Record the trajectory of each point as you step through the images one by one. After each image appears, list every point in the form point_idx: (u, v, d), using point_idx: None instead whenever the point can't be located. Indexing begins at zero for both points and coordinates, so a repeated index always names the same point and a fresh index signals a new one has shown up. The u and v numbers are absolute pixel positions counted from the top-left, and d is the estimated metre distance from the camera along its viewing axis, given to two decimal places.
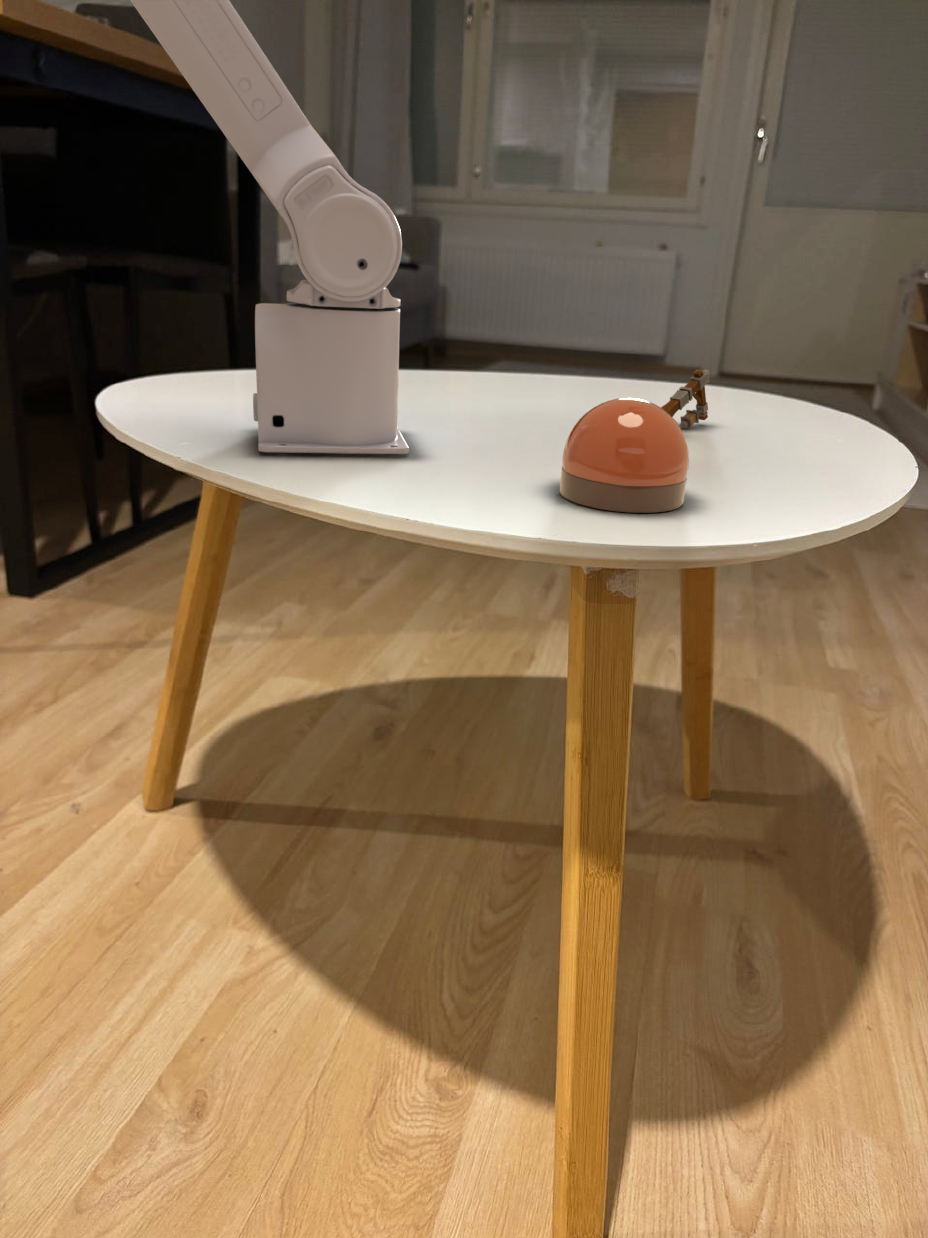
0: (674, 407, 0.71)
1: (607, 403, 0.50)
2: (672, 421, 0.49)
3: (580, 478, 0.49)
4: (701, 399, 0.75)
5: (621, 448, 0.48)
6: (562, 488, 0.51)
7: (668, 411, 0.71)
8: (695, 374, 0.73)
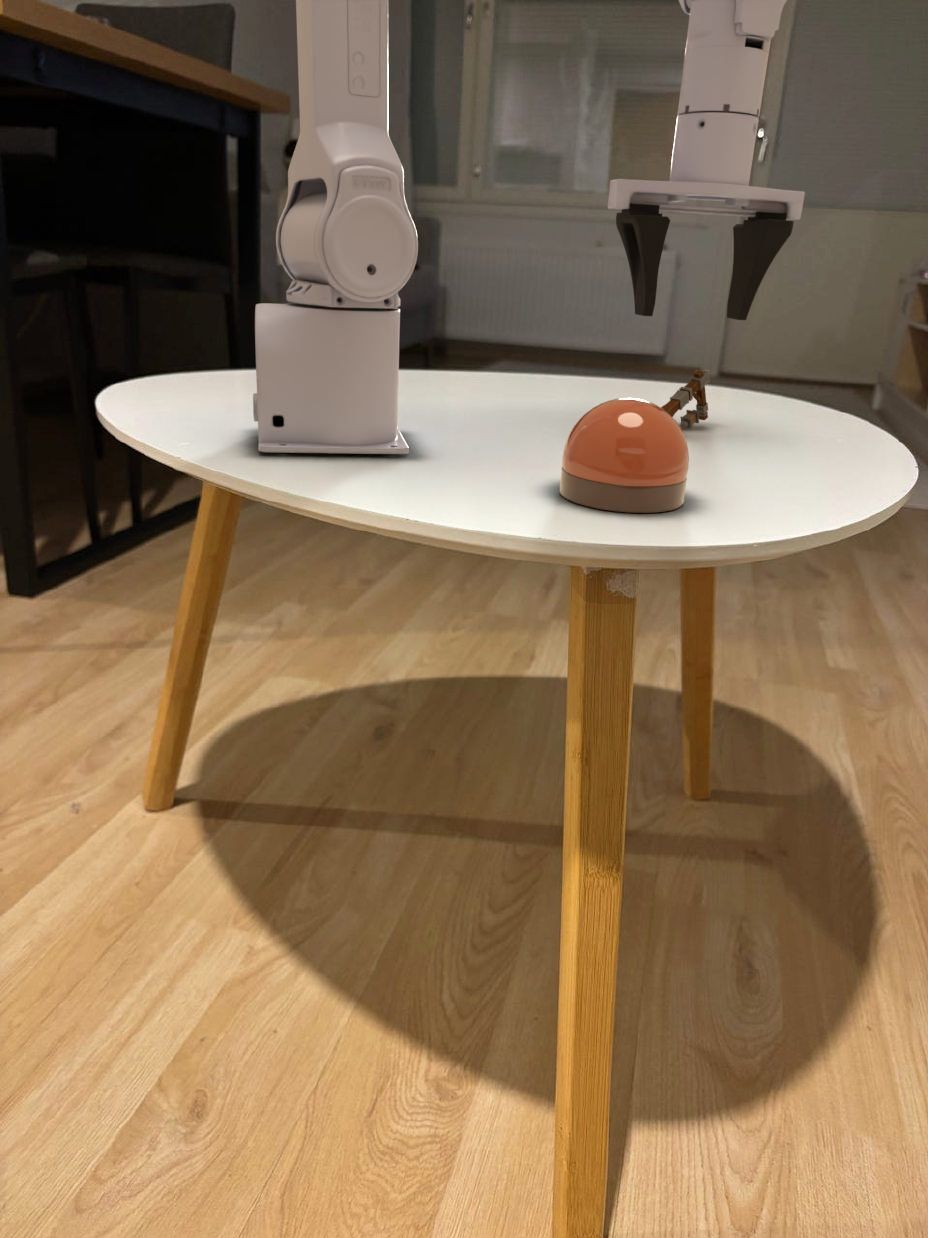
0: (674, 407, 0.71)
1: (607, 403, 0.50)
2: (672, 421, 0.49)
3: (580, 478, 0.49)
4: (701, 399, 0.74)
5: (621, 448, 0.48)
6: (562, 488, 0.51)
7: (668, 411, 0.71)
8: (695, 374, 0.73)
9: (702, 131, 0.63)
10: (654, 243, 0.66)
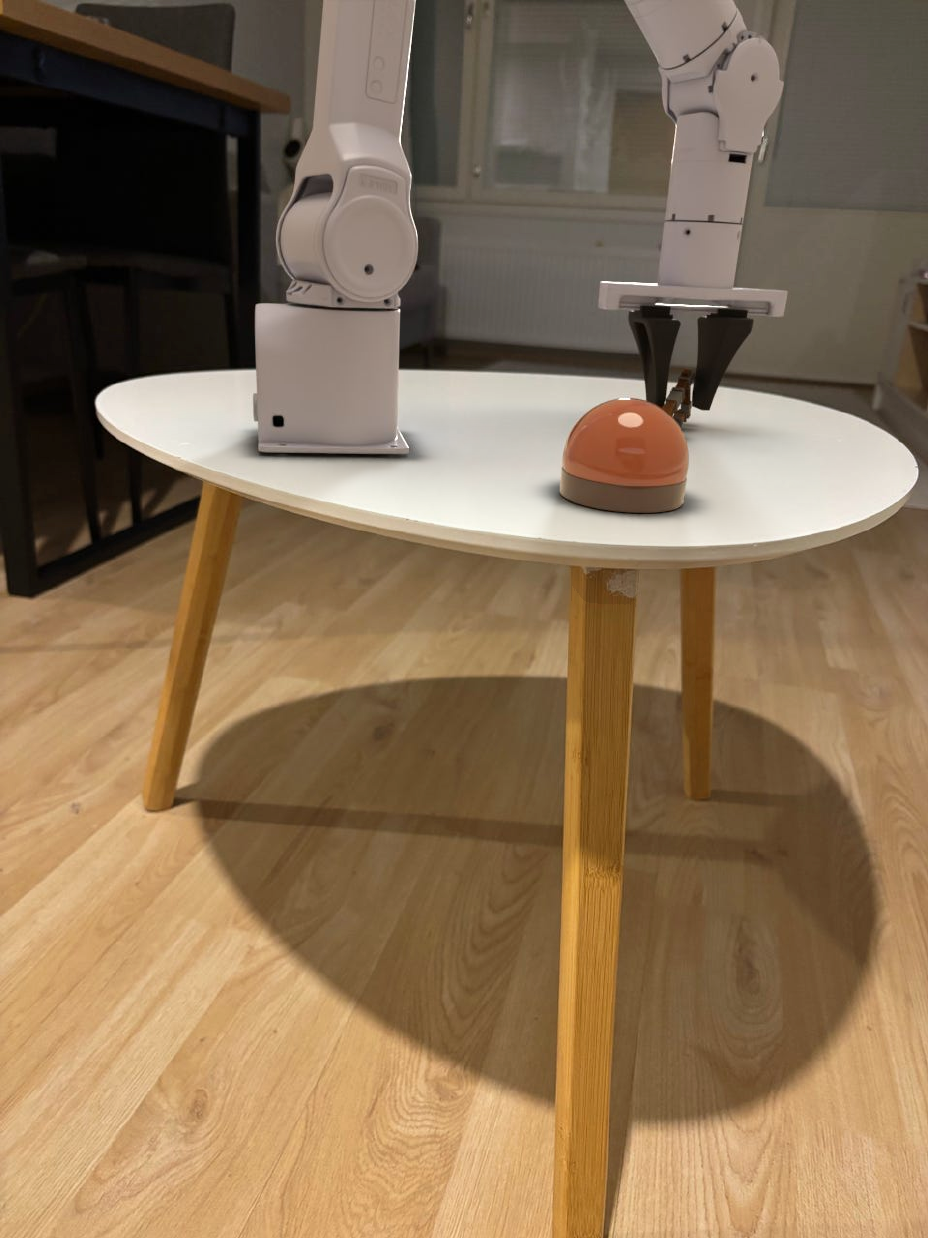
0: (673, 408, 0.71)
1: (607, 403, 0.50)
2: (672, 421, 0.49)
3: (580, 478, 0.49)
4: (687, 398, 0.74)
5: (621, 448, 0.48)
6: (562, 488, 0.51)
7: (669, 413, 0.70)
8: (683, 373, 0.73)
9: (688, 239, 0.66)
10: (665, 344, 0.69)
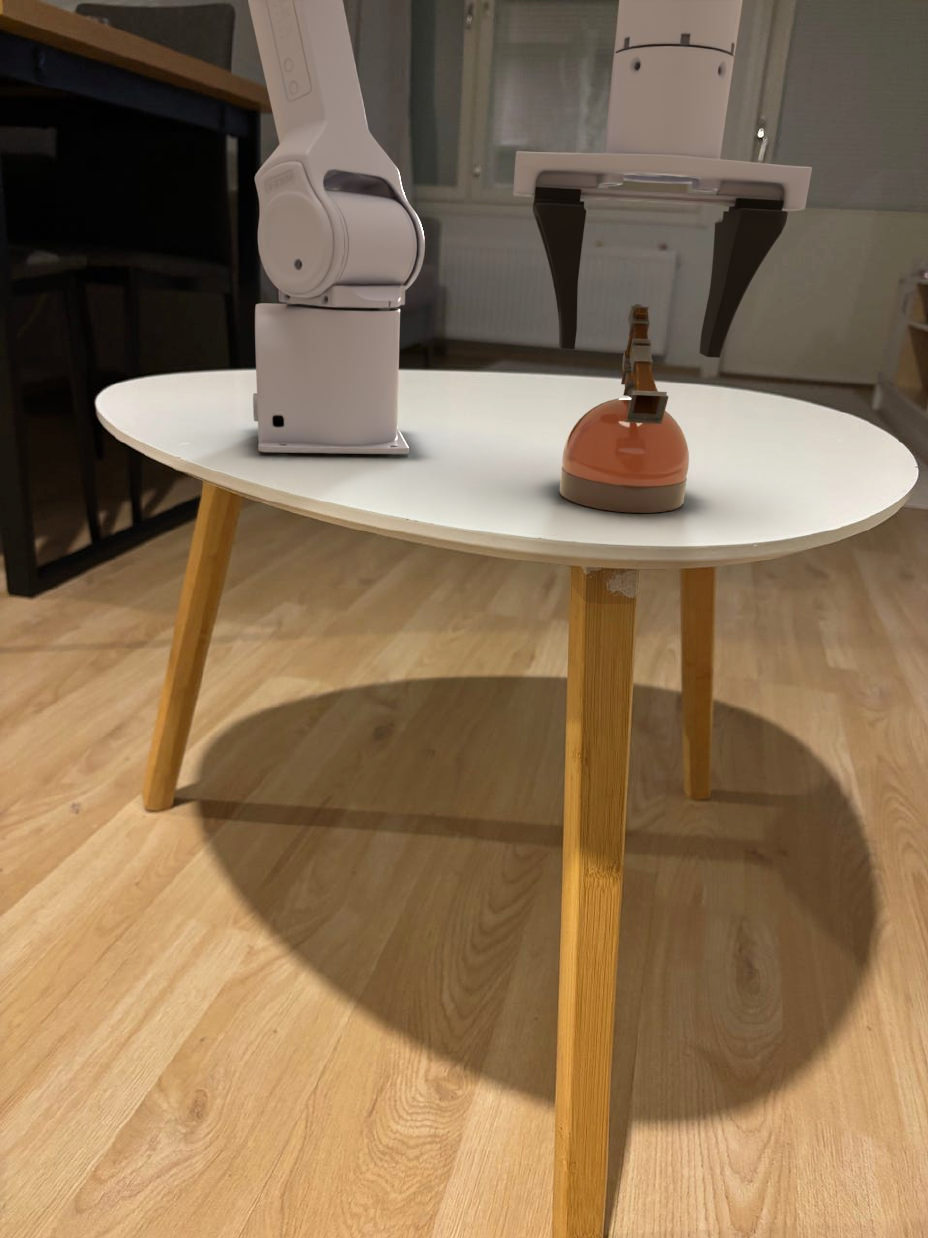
0: None
1: (607, 403, 0.50)
2: (672, 421, 0.49)
3: (580, 478, 0.49)
4: None
5: (621, 448, 0.48)
6: (562, 488, 0.51)
7: None
8: (639, 315, 0.48)
9: (636, 77, 0.42)
10: (567, 244, 0.45)
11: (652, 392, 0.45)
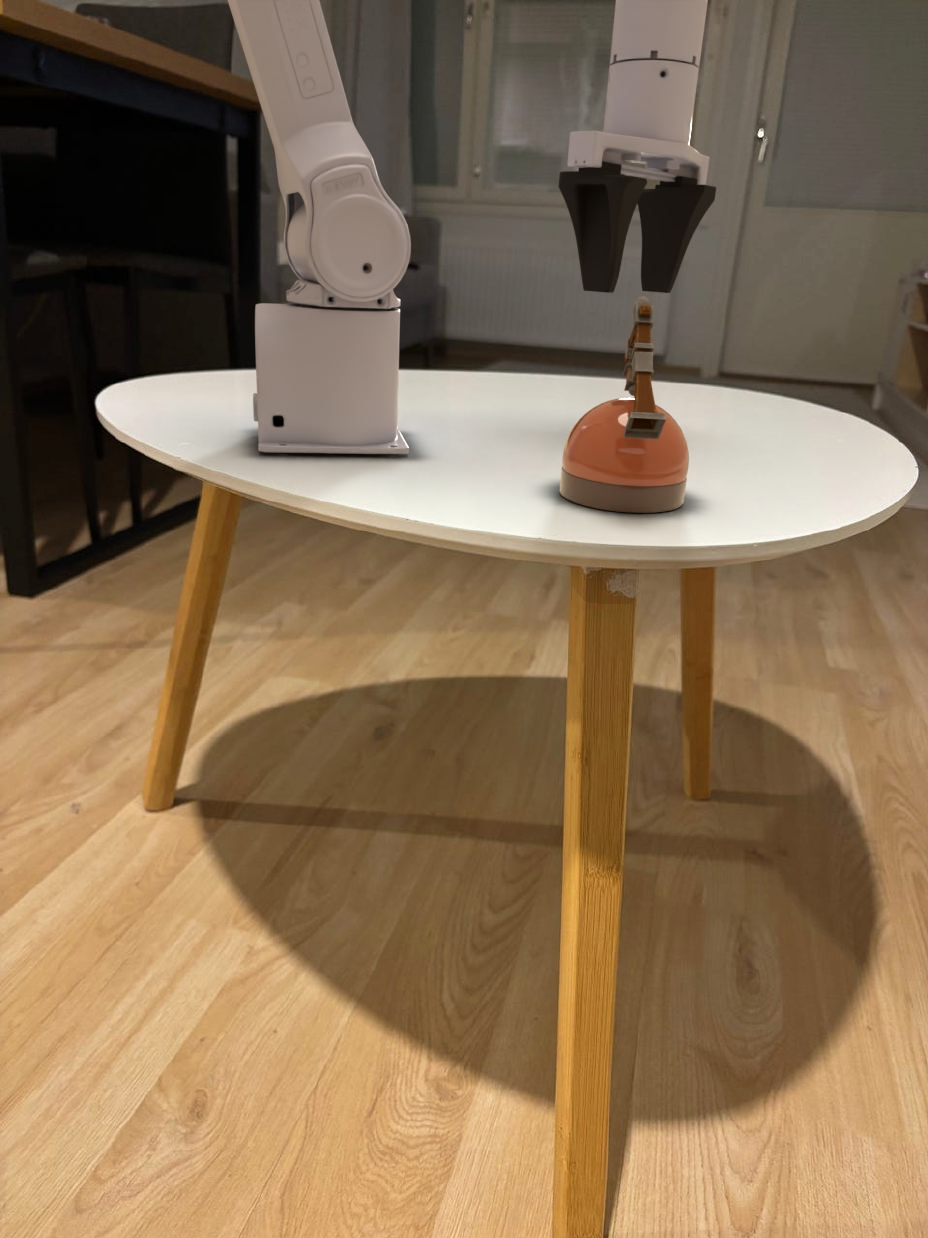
0: None
1: (607, 403, 0.50)
2: (672, 421, 0.49)
3: (580, 478, 0.49)
4: None
5: (621, 448, 0.48)
6: (562, 488, 0.51)
7: (653, 401, 0.46)
8: (643, 314, 0.47)
9: (665, 82, 0.57)
10: (628, 209, 0.58)
11: (650, 414, 0.45)
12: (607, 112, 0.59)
